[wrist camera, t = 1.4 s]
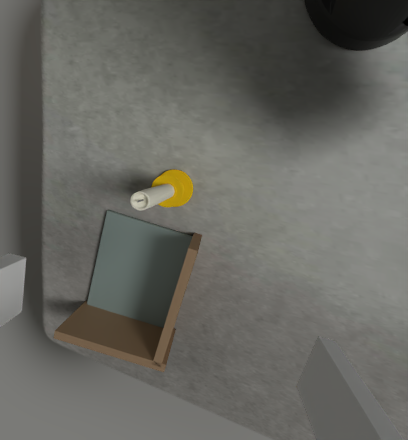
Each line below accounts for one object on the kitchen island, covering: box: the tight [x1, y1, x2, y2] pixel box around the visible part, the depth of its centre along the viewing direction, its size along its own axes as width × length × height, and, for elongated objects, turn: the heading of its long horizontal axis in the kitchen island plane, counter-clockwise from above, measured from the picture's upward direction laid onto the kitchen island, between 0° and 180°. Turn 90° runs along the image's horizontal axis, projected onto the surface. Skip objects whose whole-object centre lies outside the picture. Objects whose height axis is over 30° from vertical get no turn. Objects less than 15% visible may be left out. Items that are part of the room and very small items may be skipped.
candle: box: [130, 169, 193, 210], centre depth 24 cm, size 5×5×16 cm
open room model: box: [54, 210, 202, 372], centre depth 31 cm, size 18×15×7 cm
